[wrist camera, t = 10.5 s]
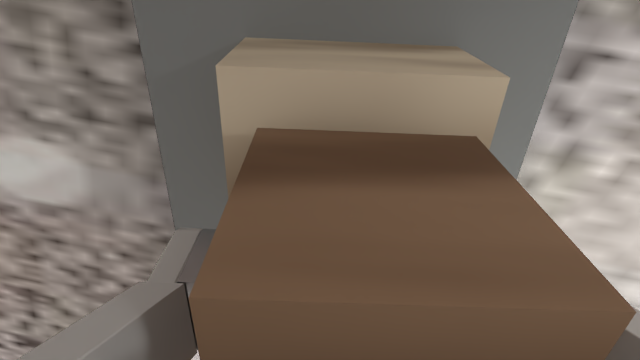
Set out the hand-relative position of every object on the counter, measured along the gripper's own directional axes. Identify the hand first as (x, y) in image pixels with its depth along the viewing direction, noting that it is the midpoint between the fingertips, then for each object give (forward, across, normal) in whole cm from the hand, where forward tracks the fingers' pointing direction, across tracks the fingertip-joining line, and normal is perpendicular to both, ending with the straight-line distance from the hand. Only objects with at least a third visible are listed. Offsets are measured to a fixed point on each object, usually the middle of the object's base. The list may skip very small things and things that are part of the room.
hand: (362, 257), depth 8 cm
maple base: (+7, 0, 0) cm, 7 cm away
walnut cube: (+2, 0, 0) cm, 2 cm away
